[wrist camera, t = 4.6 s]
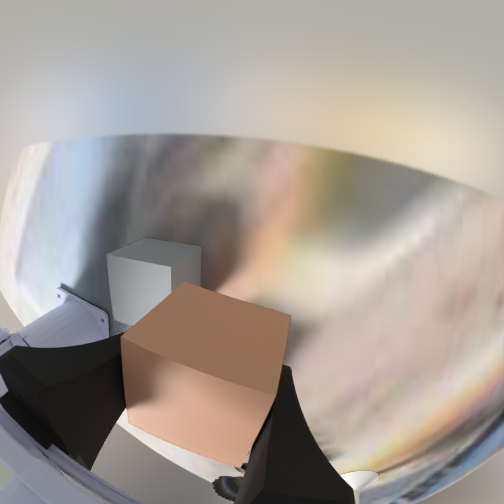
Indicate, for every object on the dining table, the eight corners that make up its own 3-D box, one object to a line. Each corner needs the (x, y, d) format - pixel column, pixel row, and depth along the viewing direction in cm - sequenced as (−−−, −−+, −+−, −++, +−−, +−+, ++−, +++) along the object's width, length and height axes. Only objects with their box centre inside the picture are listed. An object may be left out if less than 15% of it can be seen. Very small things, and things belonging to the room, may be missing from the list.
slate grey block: (200, 306, 22) (173, 338, 17) (147, 294, 22) (113, 320, 18) (202, 245, 20) (170, 266, 15) (145, 237, 21) (106, 254, 16)
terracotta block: (262, 392, 13) (240, 468, 8) (174, 361, 14) (128, 423, 9) (291, 315, 12) (276, 395, 7) (184, 281, 12) (120, 336, 8)
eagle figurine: (263, 443, 23) (203, 466, 25) (286, 499, 18) (219, 516, 19) (296, 444, 28) (242, 467, 29) (317, 489, 22) (258, 508, 24)
